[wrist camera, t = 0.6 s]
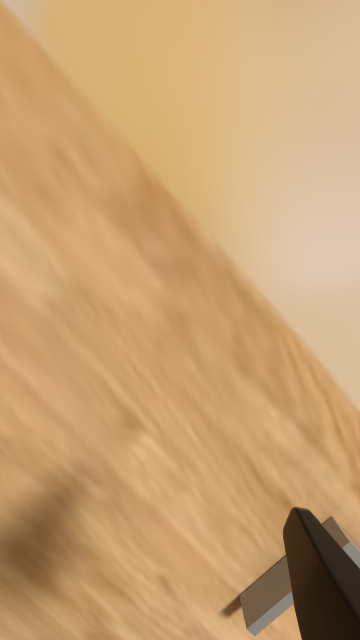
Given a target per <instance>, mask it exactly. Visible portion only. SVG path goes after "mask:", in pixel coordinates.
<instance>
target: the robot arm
mask: <svg viewBox="0 0 360 640" xmlns="http://www.w3.org/2000/svg"><path fill="white" fill-rule="evenodd" d="M283 539H284V545H285V552H286V558H287V564H288V571H289V577H290V583H291V590H292V596H293V602H294V607H295V612H296V617H297V621H298V625H299V629H300V633H301V638H302V640H360V568H359V567H358V566H357V565H356V563H355V562H354V561H353V560H352V559H351V558H350V556H349V555H348V554H347V553H346V552H345V551H344V549H343V548H342V547H341V546H340V545H339V544H338V543H337V541H336V540H335V539H334V538H333V537H332V536H331V534H330V533H329V532H328V531H327V530H326V529H325V528H324V526H323V525H322V524H321V523H320V522H319V521H318V519H317V518H316V517H315V516H314V515H313V514H312V513H311V512H310V511H309V510H308V509H305V508H299V507H293V508H292V509H291V511H290V513H289V516H288V518H287V521H286V523H285V525H284V529H283Z"/></svg>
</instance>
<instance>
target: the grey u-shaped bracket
mask: <svg viewBox="0 0 360 640" xmlns="http://www.w3.org/2000/svg"><path fill="white" fill-rule="evenodd" d="M322 525H323V526H324V528H325V529H326V530H327V531H328V532H329V533H330V534H331V536H332V537H333V538H334V539H335V540H336V541H337V543H338V544H339V545H340V546H341V547H342V548H343V549H344V551H345V552H346V553H347V554H348V555H349V556H350V558H351V559H352V560H353V561H354V562H355V563H356V565H357V566H358V567H359V568H360V545H359V544H358V543H357V542H356V541H355V540H354V539H353V538H352V537H351V536H350V535H349V534H348V533H347V532H346V530H345V529H344V528H343V527H342V526H341V525H340V524H339V523H338V522H337V521H336V520H335V519H334V518H333V517H330V518H329V519H328V520H327V521H326V522H325V523H323V524H322ZM239 597H240V601H241V606H242V610H243V614H244V619H245V623H246V628H247V630H248V631H250V632H251V633H252V634H253V635H254V636H256V635H257V634H258V633H260V632H261V631H262V630H263V629H264V628H265V627H267V626H268V625H269V624H270V623H271V622H273V621H274V620H275V619H276V618H277V617H278V616H280V615H281V614H282V613H283V612H284V611H286V610H287V609H288V608H289V607H290V606H291V605H293V604H294V602H293V596H292V590H291V583H290V577H289V571H288V564H287V558H286V556H285V557H284V558H283V559H282V560H280V561H279V562H278V563H277V564H276V565H275V566H273V567H272V568H271V569H270V570H269V571H268V572H266V573H265V574H264V575H263V576H262V577H261V578H259V579H258V580H257V581H256V582H255V583H254V584H252V585H251V586H250V587H249V588H248V589H247V590H245V591H244V592H243V593H242V594H241V595H240V596H239Z"/></svg>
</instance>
